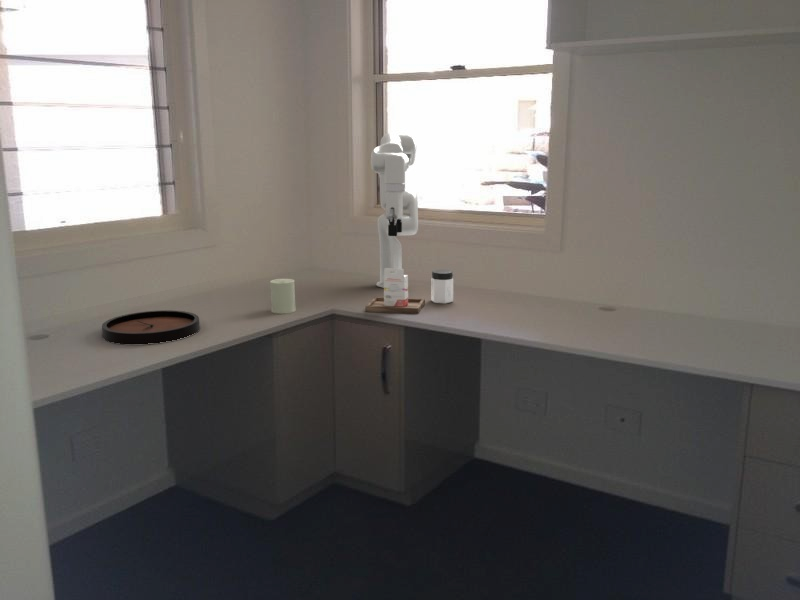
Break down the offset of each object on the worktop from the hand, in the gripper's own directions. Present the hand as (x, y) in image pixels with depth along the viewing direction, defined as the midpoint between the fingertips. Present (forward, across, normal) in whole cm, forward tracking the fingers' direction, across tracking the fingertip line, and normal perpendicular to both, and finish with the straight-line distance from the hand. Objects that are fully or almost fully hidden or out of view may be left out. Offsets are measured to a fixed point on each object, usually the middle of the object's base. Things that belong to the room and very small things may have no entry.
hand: (395, 234), depth 275 cm
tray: (+28, +1, 0) cm, 28 cm away
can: (+28, +13, -41) cm, 51 cm away
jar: (+29, -13, +16) cm, 35 cm away
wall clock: (+29, +49, -75) cm, 94 cm away
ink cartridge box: (+28, 0, 0) cm, 28 cm away
